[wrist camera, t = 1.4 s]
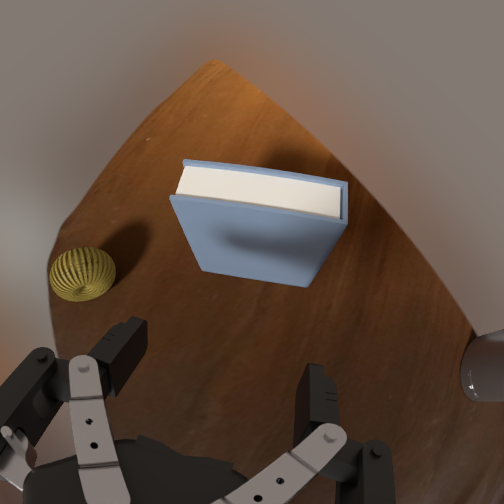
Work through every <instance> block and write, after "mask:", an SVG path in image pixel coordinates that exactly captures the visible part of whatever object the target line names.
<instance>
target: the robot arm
mask: <svg viewBox="0 0 504 504" xmlns="http://www.w3.org/2000/svg"><path fill="white" fill-rule="evenodd" d="M147 344H148V339H147V321H146V320H143V319H140V318H137V317H134V316H132V317H131V318H130V319H129V320H128V321H127V322H126V323H122V322H120V323H118V324H116V325H114V326H113V327H112V328H111V329H110V330H109V331H108V332H107V334H105V335H104V336H103V338H102V339H101V340H100V341H99V342H98V343H97V344H96V345H95V346H94V348H93V349H92V350H91V351H90V352H89V353H88V354H87V355H81V356H77V357H75V358H73V359H72V360H71V361H68V360H63V359H58V358H55V354H54V352H53V351H52V350H51V349H49V348H45V347H40V348H37V349H35V350H33V351H32V352H31V353H30V354H29V355H28V356H27V357H26V358H25V359H24V360H23V362H22V363H21V364H20V365H19V366H18V367H17V368H16V369H15V370H14V371H13V373H12V374H11V375H10V376H9V377H8V378H7V379H6V381H5V382H4V383H3V384H2V385H1V387H0V479H1V480H3V481H5V482H10V483H11V484H13V485H14V486H16V487H17V488H18V489H20V490H21V491H23V504H288V503H289V502H290V501H291V500H292V499H293V498H294V497H295V496H296V495H297V494H298V493H300V492H301V491H302V490H303V489H304V488H305V487H306V486H307V485H308V484H309V483H310V482H311V481H312V480H313V479H314V478H315V477H316V476H317V475H318V474H319V475H322V476H325V477H327V478H330V479H333V480H336V495H335V504H396V500H395V486H394V475H393V465H392V456H391V450H390V448H389V447H388V445H387V444H385V443H384V442H382V441H380V440H370V441H368V442H366V443H365V444H362V443H360V442H357V441H354V440H352V439H350V438H348V437H347V436H346V433H345V431H344V430H343V429H342V428H341V427H340V422H339V410H338V402H337V390H336V384H335V383H334V381H333V379H332V378H331V377H326V376H324V367H323V365H318V364H312V363H308V364H307V365H306V368H305V370H304V372H303V375H302V377H301V379H300V382H299V384H298V387H297V391H296V402H295V422H294V438H293V450H292V451H291V452H290V451H288V452H286V453H285V454H283V455H282V456H281V457H280V458H278V459H277V460H276V461H274V462H273V463H272V464H271V465H269V466H268V467H267V468H265V469H264V470H263V471H261V472H260V473H259V474H257V475H256V476H255V477H253V478H252V479H251V480H248V479H247V478H246V477H245V476H243V475H242V474H240V473H239V472H237V471H235V470H233V469H232V467H233V463H229V462H225V461H221V460H217V459H213V458H208V457H193V456H184V455H181V454H179V453H177V452H176V451H174V450H172V449H171V448H169V447H167V446H166V445H164V444H162V443H160V442H158V441H155V440H152V439H149V438H147V437H144V436H142V435H139V436H138V438H137V440H133V439H122V440H116V441H115V439H114V435H113V432H112V428H111V424H110V420H109V415H108V411H107V406H106V402H105V399H106V397H107V396H108V395H110V396H112V397H115V398H116V397H117V395H118V394H119V392H120V391H121V389H122V387H123V386H124V384H125V383H126V381H127V380H128V378H129V377H130V375H131V374H132V372H133V371H134V369H135V368H136V367H137V365H138V364H139V362H140V361H141V359H142V358H143V356H144V355H145V352H146V350H147ZM460 374H461V383H462V387H463V390H464V392H465V394H466V395H467V397H468V398H470V399H471V400H473V401H495V402H502V401H504V329H503V330H500V331H496V332H493V333H489V334H486V335H482V336H479V337H477V338H475V339H474V340H473V341H472V342H471V343H470V344H469V346H468V347H467V349H466V351H465V353H464V356H463V359H462V364H461V373H460ZM64 402H69V406H70V415H71V422H72V430H73V436H74V443H75V448H76V455H73V456H70V457H67V458H64V459H61V460H57V461H54V462H51V463H47V464H44V465H40V466H38V467H36V468H34V466H35V462H36V459H37V454H36V451H35V449H34V447H35V446H36V444H37V443H38V441H39V439H40V438H41V436H42V435H43V433H44V432H45V430H46V428H47V427H48V425H49V424H50V422H51V421H52V419H53V418H54V416H55V415H56V413H57V412H58V410H59V409H60V407H61V406H62V404H63V403H64Z"/></svg>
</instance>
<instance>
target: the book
mask: <svg viewBox="0 0 504 504" xmlns="http://www.w3.org/2000/svg"><path fill="white" fill-rule="evenodd" d="M183 166H184V171H183V174H182V177H181V179H180V182H179V185H178V188H177V191H176V194H175V195H170V198H169V199H170V201H171V203H172V206H173V208H174V210H175V213H176V215H177V217H178V219H179V222H180V224H181V226H182V228H183V231H184V233H185V235H186V237H187V240H188V242H189V244H190V246H191V248H192V251H193V253H194V255H195V257H196V259H197V261H198V264H199V266H200V268H201V270H202V271H207V272H213V273H219V274H225V275H231V276H237V277H243V278H250V279H256V280H262V281H269V282H275V283H282V284H288V285H295V286H302V287H308V286H309V285H310V283H311V282H312V280H313V279H314V277H315V276H316V274H317V273H318V271H319V269H320V268H321V266H322V265H323V263H324V262H325V260H326V259H327V257H328V255H329V254H330V252H331V251H332V249H333V248H334V246H335V244H336V243H337V241H338V240H339V238H340V236H341V235H342V233H343V232H344V230H345V228H346V227H347V225H348V182H345V181H339V180H334V179H329V178H323V177H318V176H312V175H306V174H300V173H294V172H288V171H281V170H274V169H267V168H260V167H253V166H245V165H236V164H228V163H219V162H209V161H198V160H186V159H184V160H183Z"/></svg>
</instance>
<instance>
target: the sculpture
mask: <svg viewBox="0 0 504 504" xmlns="http://www.w3.org/2000/svg"><path fill="white" fill-rule="evenodd" d="M101 269H102V270H101ZM92 270H93V271H92ZM97 270H98V271H97ZM86 274H87V275H88V279H87V275H86ZM91 274H92V275H91ZM78 275H79V278H80V281H79V279H78ZM67 276H68V277H67ZM115 276H116V268H115V264H114V262H113V260H112V258H111V257H110V256H109V255H108V254H107V253H106V252H104V251H103V250H100V249H97V248H93V247H82V248H81V247H80V248H78V251H77V248H75V249H74V250H70V251H67V252H65V253H64V254H63V255H61V256H60V257H59V258H58V259H57V260H56V261H55V262H54V264H53V266H52V268H51V271H50V283H51V286H52V288H53V290H54V291H55V292H56V294H58V296H60V297H61V298H63V299H65V300H68V301H78V302H79V301H87V300H88V298H89V300H91V299H94V298H96V297H98V296H100V295H102V294H103V293H105V292H106V291H107V290H108V289H109V288H110V287H111V286H112V284H113V282H114V280H115ZM74 279H75V280H74ZM70 280H71V281H70ZM62 283H63V284H62Z"/></svg>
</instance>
